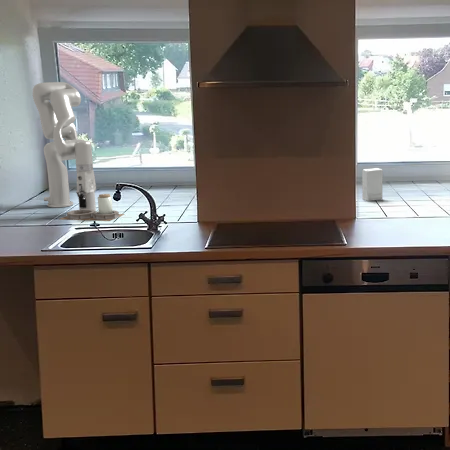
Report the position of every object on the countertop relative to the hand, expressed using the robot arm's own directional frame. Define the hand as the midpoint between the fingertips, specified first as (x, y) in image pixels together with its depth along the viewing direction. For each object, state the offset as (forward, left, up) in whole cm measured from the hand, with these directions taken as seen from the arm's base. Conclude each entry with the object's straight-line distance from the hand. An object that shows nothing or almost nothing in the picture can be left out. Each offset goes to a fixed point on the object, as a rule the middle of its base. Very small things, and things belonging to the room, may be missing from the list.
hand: (87, 205), depth 309 cm
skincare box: (+125, +52, -4) cm, 135 cm away
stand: (+9, -13, -3) cm, 16 cm away
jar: (+16, -13, -2) cm, 21 cm away
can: (0, 0, -4) cm, 4 cm away
